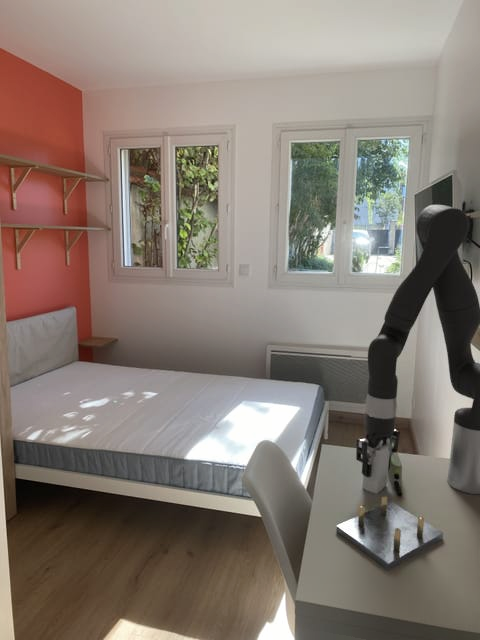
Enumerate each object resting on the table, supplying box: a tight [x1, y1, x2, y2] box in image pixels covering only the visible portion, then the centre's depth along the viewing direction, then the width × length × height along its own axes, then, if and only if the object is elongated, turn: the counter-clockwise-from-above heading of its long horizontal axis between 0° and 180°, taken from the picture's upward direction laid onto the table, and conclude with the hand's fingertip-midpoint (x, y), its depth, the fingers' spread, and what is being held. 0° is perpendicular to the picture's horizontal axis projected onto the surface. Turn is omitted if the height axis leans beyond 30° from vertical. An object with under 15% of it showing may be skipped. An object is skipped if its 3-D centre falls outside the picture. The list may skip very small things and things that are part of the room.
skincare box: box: [362, 445, 390, 495], centre depth 117 cm, size 6×4×12 cm
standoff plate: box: [336, 495, 444, 571], centre depth 99 cm, size 18×14×6 cm
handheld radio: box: [388, 443, 404, 498], centre depth 125 cm, size 7×3×25 cm
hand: (375, 472), depth 118 cm, fingers closed on skincare box, 6 cm apart
